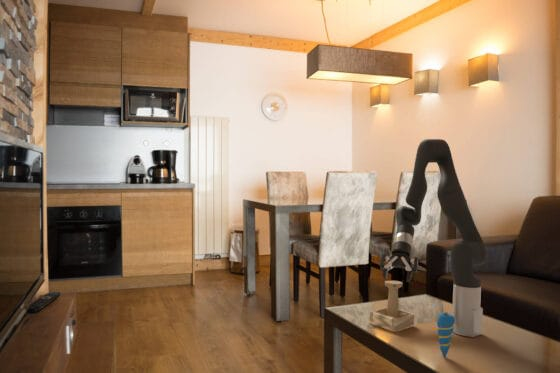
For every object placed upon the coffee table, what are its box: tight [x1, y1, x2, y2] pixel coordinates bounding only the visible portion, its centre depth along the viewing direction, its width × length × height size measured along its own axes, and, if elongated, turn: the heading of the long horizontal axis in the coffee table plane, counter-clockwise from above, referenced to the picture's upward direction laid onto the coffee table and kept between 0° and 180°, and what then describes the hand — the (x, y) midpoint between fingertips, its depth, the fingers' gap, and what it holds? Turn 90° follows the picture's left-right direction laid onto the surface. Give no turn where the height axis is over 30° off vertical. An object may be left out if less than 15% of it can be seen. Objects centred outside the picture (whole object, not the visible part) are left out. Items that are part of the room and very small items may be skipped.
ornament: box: [436, 309, 455, 358], centre depth 143 cm, size 5×5×15 cm
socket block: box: [369, 306, 415, 333], centre depth 173 cm, size 12×12×5 cm
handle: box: [384, 280, 403, 317], centre depth 173 cm, size 5×6×15 cm
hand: (396, 279), depth 178 cm, fingers open, 8 cm apart
